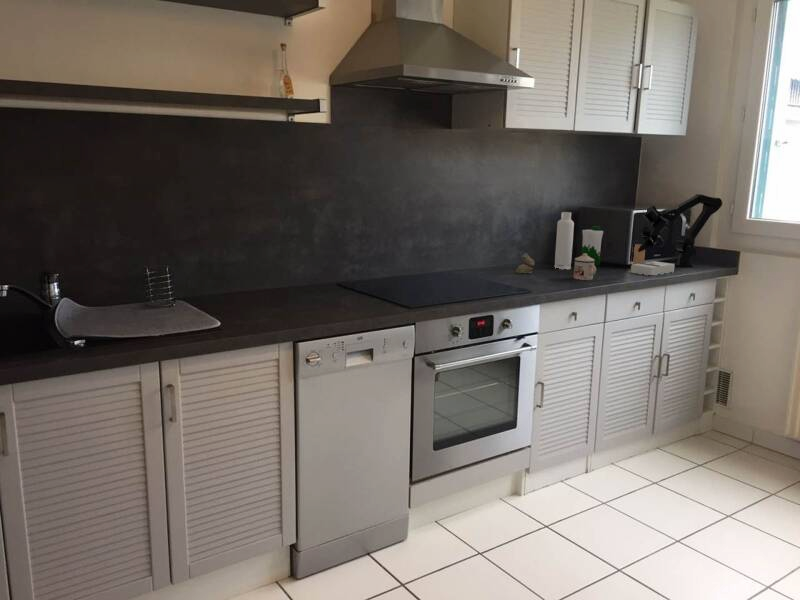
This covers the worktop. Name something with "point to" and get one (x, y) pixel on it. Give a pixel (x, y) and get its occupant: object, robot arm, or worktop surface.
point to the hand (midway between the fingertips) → (636, 251)
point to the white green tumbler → (592, 243)
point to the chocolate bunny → (526, 265)
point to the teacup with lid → (584, 268)
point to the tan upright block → (638, 254)
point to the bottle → (564, 241)
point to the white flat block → (652, 268)
